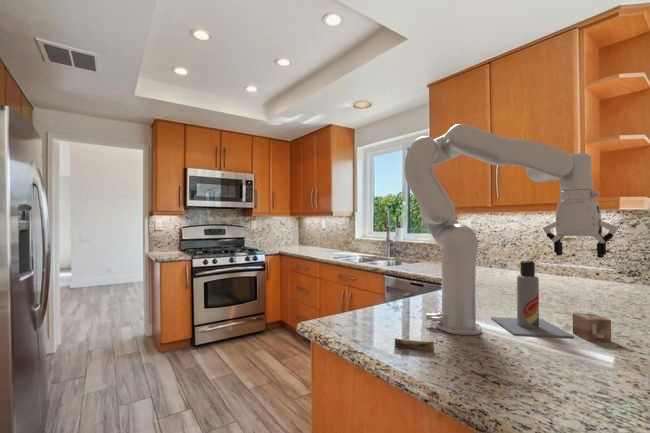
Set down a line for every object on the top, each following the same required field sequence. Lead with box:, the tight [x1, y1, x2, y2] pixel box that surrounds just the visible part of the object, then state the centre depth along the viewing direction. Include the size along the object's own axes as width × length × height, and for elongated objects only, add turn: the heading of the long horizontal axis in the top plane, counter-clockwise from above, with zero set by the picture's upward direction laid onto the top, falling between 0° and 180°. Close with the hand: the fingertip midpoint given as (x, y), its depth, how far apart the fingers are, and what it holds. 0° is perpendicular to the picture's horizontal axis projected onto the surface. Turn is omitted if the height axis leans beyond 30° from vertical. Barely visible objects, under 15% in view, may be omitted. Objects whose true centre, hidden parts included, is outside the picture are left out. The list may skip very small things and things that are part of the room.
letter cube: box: [572, 312, 612, 343], centre depth 90 cm, size 6×6×6 cm
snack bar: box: [393, 338, 435, 354], centre depth 80 cm, size 10×2×3 cm, turn 76°
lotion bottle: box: [516, 260, 540, 328], centre depth 99 cm, size 6×6×20 cm
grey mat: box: [490, 316, 575, 339], centre depth 99 cm, size 16×16×1 cm
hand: (579, 256), depth 92 cm, fingers open, 9 cm apart
